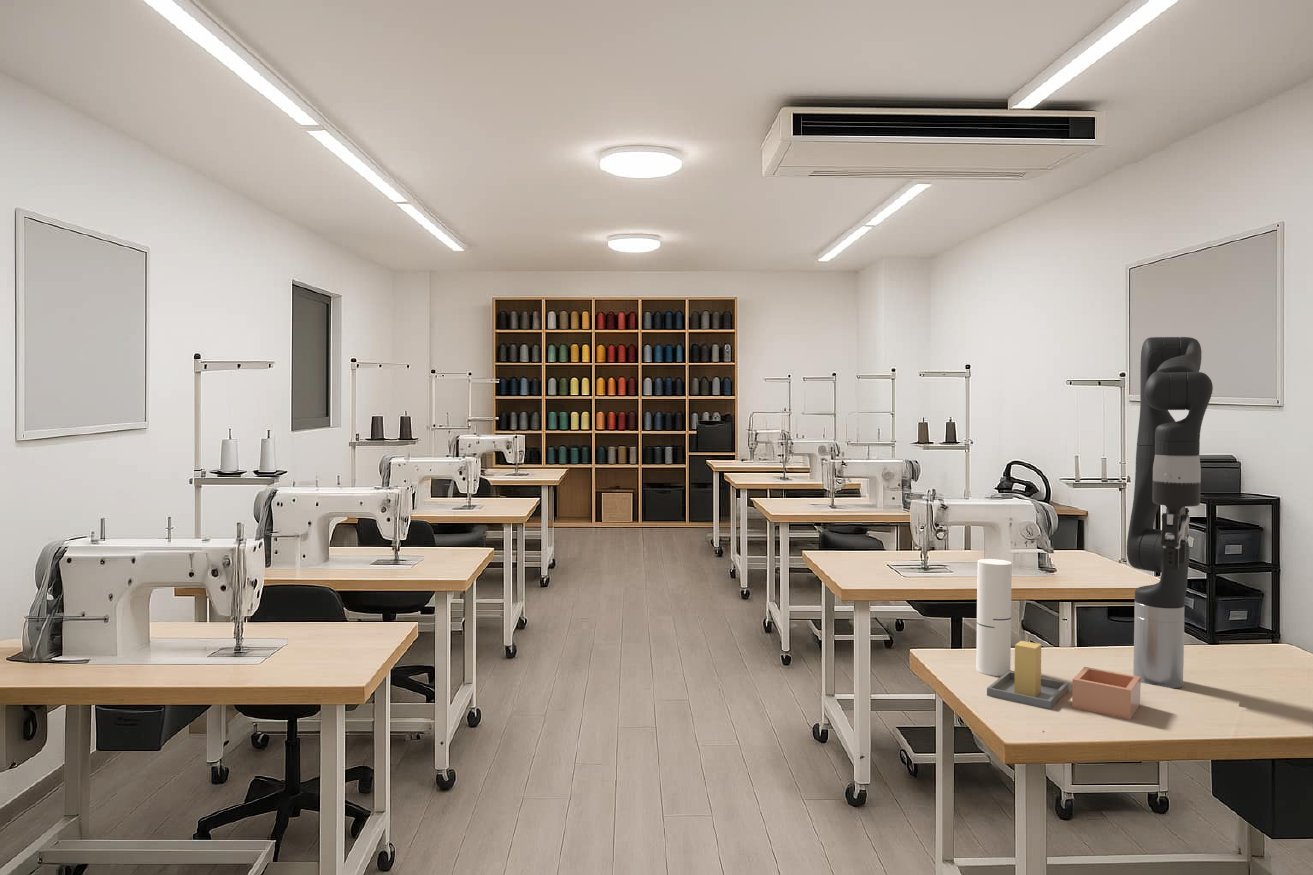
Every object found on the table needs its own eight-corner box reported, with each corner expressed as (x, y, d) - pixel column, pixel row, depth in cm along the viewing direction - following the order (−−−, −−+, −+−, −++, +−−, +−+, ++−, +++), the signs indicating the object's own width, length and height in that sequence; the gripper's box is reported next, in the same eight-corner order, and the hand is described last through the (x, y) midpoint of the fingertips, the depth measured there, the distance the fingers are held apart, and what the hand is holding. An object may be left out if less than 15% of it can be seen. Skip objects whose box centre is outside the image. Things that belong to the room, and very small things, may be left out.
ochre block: (1020, 687, 169) (1020, 640, 169) (1040, 692, 167) (1041, 644, 166) (1014, 692, 166) (1014, 644, 166) (1035, 697, 164) (1035, 648, 163)
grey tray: (1008, 682, 176) (1008, 670, 176) (1068, 694, 168) (1068, 682, 168) (986, 699, 165) (986, 687, 165) (1050, 714, 157) (1050, 701, 157)
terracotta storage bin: (1084, 697, 166) (1084, 666, 166) (1140, 709, 160) (1140, 676, 159) (1072, 711, 158) (1072, 679, 158) (1130, 724, 152) (1130, 690, 152)
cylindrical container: (1013, 676, 179) (1015, 565, 178) (979, 674, 181) (980, 564, 180) (1006, 666, 186) (1007, 559, 185) (973, 665, 188) (974, 558, 187)
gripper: (1195, 483, 143) (1193, 574, 143) (1205, 477, 153) (1203, 562, 154) (1146, 480, 147) (1144, 569, 148) (1159, 476, 158) (1157, 558, 159)
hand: (1174, 565), depth 151 cm, fingers open, 8 cm apart
